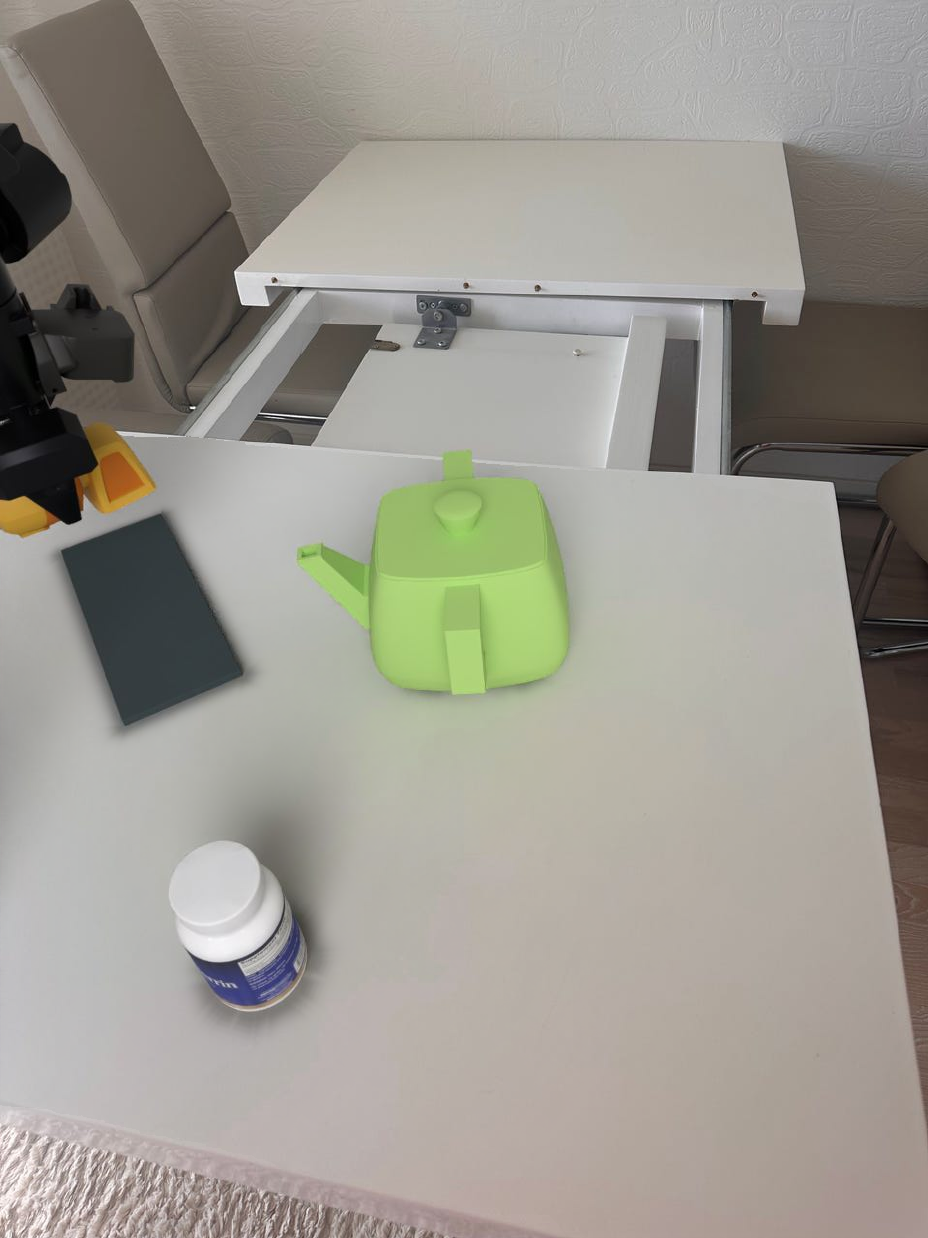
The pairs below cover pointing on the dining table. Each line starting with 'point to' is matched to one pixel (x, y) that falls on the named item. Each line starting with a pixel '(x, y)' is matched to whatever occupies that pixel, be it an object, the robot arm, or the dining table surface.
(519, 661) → the teapot
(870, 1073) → the dining table surface
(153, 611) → the mat
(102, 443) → the multicoloured piece
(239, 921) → the pill bottle
